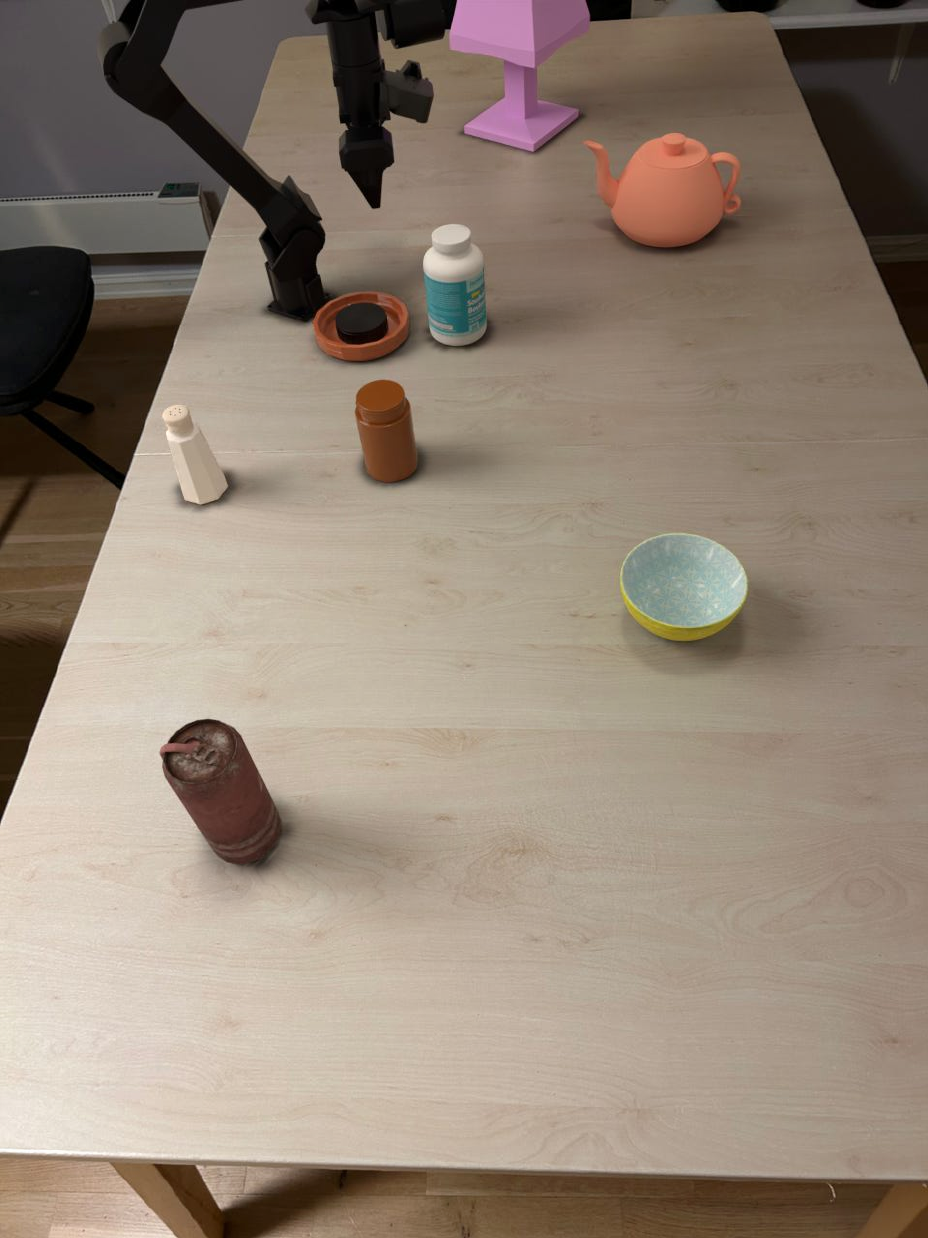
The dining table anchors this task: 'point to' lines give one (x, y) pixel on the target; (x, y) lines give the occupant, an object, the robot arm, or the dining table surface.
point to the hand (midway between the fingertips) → (375, 189)
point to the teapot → (667, 190)
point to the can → (221, 790)
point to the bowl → (683, 586)
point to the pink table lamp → (519, 62)
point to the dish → (392, 339)
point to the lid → (361, 323)
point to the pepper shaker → (193, 458)
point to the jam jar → (386, 431)
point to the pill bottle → (455, 286)
